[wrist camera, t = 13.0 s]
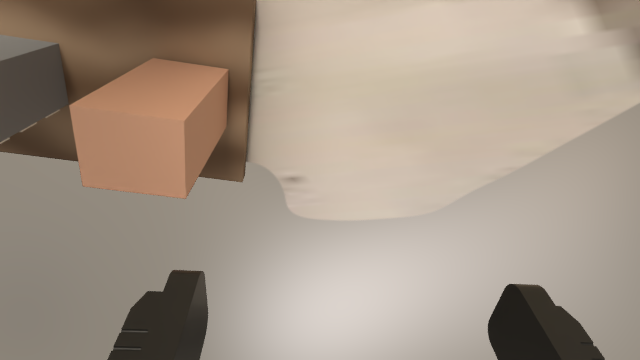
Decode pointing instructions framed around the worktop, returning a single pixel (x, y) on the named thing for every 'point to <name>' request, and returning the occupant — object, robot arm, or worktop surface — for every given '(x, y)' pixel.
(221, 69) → the terracotta stub
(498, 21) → the worktop surface
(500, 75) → the worktop surface
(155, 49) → the walnut board
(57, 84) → the charcoal ticket block
